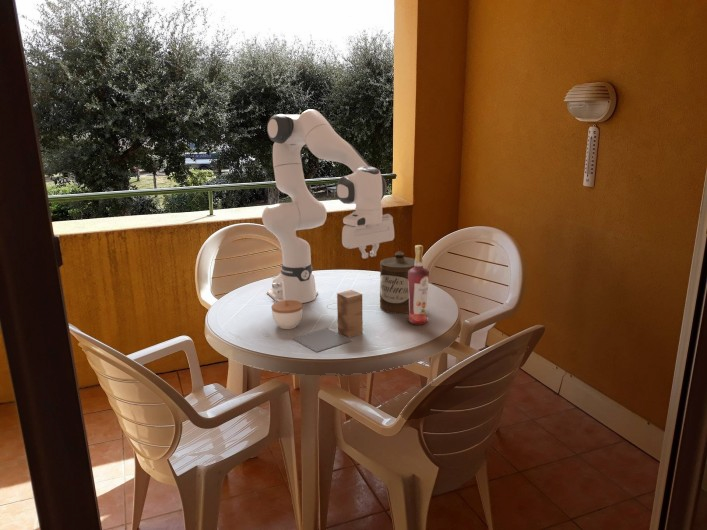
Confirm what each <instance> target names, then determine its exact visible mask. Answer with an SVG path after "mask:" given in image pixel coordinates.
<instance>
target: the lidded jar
mask: <svg viewBox="0 0 707 530" xmlns="http://www.w3.org/2000/svg"><path fill="white" fill-rule="evenodd" d="M271 312H272V313H271V314H272V319H273V321H274V323H275V324H276V325H277V327H279V328H280V329H283V330H291V329H294V328H296V327H297V326H298V325H299V323H300V322H301V321H302V317H303V303H301V302H298V301H294V300H284V301H279V302H276V301H275V302H274V303H273V304H272V305H271Z"/></svg>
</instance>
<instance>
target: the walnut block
mask: <svg viewBox="0 0 707 530" xmlns="http://www.w3.org/2000/svg"><path fill="white" fill-rule="evenodd" d="M336 299H337V300H336V305H337V307H336V309H337V311H336V312H337V313H336V314H337V333H338V334H340V335H342V336H344V337H346V338H348V339H350V338H352V337H355V336H358V335H361V334H363V331H364V330H363V329H364V328H363V327H364V325H363V323H364V322H363V293H360V292H358V291H355V290H353V289H349V290H346V291H345V290H344V291H341V292H338V293H336Z"/></svg>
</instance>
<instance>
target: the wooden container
mask: <svg viewBox="0 0 707 530" xmlns="http://www.w3.org/2000/svg"><path fill="white" fill-rule="evenodd" d="M394 256H395V257H394ZM394 256H393V257H387V258H383V259H381V260H380V262H379V269H380V270H379V271H380V272H379V273H380V274H379V275H380V276H379V278H380V279H379V308H380V310H382V311H383V312H386V313H390V314H396V315H397V314H399V315H400V314H401V315H402V314H403V315H404V314H409V290H408V271H409V270H410V269H411V268H414V265H415V258H412V257H408V256H407V257H406V256H405V253H404V252H402V251H397V252H395V253H394Z"/></svg>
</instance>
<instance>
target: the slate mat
mask: <svg viewBox="0 0 707 530" xmlns="http://www.w3.org/2000/svg"><path fill="white" fill-rule="evenodd" d="M292 340H293V341H295V342H298V343H299V344H301V345H303V346H304V347H305V348H308V349H310V350H311V351H313V352H315V353H319V352H322V351H325V350H329V349H331V348H336V347H337V346H341V345H344V344H347V343H350V342H352V341H353V340H351V339H350V338H348V337H346V336H344V335H342V334H340V333H338V332H337V331H334V330H332V329H330V328H328V327H325V328H322V329H319V330H315V331H312V332H308V333H305V334H302V335H297V336H295V337H292Z"/></svg>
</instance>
